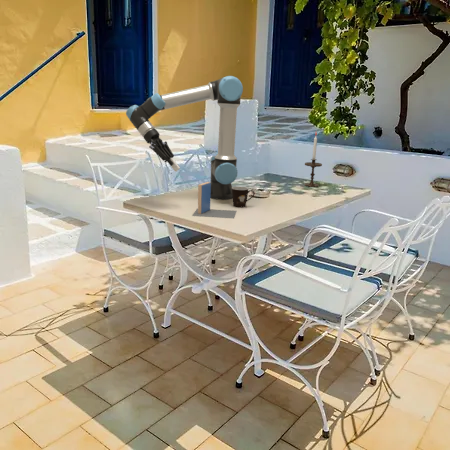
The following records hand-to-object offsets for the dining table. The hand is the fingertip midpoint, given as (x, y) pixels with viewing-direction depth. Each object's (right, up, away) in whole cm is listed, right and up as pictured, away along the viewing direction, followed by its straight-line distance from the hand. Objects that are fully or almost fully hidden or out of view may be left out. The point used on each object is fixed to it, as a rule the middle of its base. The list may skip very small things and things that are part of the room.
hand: (177, 169), depth 229 cm
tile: (+13, -21, -1) cm, 24 cm away
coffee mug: (+32, -18, +12) cm, 39 cm away
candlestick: (+79, -2, +74) cm, 108 cm away
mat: (+18, -22, -3) cm, 29 cm away
